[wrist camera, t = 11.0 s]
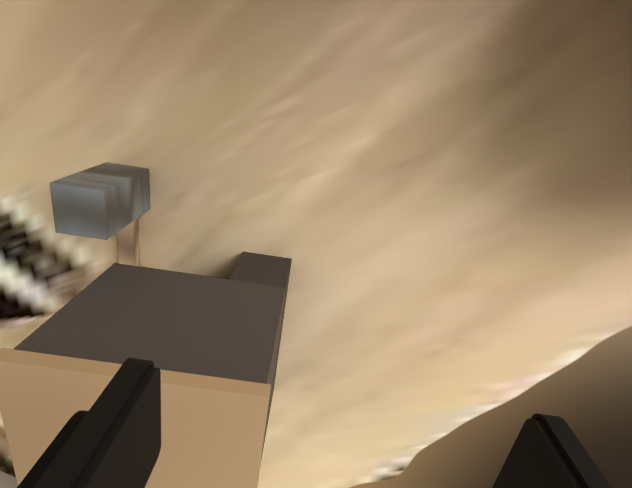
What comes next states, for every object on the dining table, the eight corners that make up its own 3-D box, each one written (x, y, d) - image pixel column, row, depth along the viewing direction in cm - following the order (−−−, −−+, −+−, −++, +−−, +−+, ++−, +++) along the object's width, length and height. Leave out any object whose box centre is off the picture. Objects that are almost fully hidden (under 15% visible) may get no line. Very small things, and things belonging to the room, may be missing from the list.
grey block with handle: (106, 162, 36) (49, 183, 28) (149, 168, 36) (103, 191, 29) (119, 356, 45) (78, 410, 37) (153, 361, 45) (119, 416, 38)
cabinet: (139, 233, 39) (-18, 358, 21) (294, 256, 39) (268, 397, 22) (144, 376, 46) (30, 557, 28) (275, 393, 46) (243, 582, 29)
